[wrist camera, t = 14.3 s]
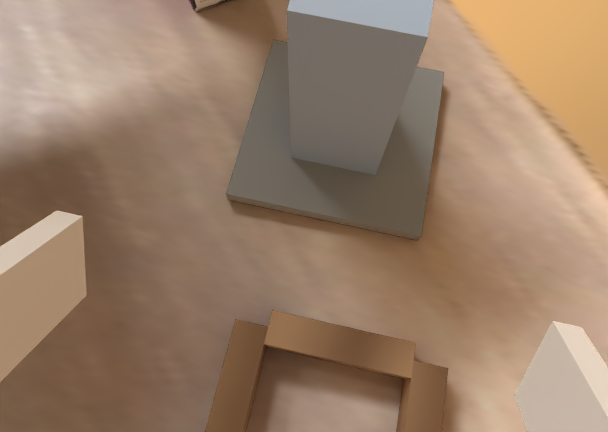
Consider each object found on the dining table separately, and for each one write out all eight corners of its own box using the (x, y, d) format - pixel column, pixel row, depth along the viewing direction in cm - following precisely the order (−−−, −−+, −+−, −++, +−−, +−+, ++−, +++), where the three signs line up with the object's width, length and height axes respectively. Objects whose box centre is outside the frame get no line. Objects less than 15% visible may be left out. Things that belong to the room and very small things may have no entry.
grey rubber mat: (228, 199, 24) (226, 193, 23) (274, 49, 27) (273, 39, 26) (417, 240, 23) (421, 235, 22) (440, 80, 26) (444, 72, 26)
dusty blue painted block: (291, 157, 24) (286, 10, 14) (309, 87, 25) (317, -88, 16) (375, 175, 23) (427, 37, 14) (389, 103, 25) (444, -65, 16)
